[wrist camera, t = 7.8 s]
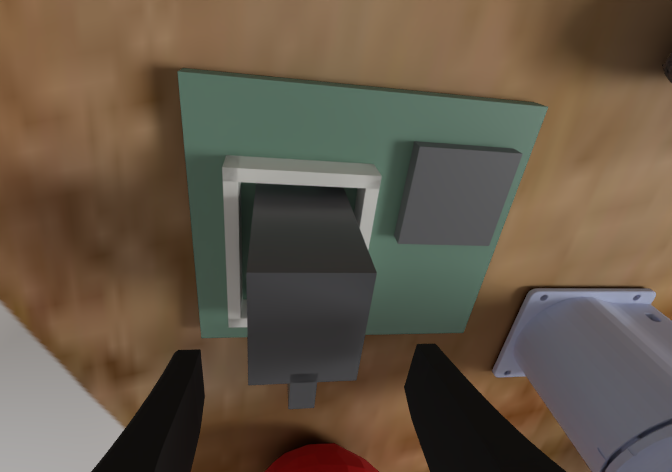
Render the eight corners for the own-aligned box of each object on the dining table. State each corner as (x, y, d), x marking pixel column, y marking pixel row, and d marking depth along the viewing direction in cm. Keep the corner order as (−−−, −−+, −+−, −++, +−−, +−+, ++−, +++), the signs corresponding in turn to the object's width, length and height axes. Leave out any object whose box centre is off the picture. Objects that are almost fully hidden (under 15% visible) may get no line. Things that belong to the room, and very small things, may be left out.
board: (535, 102, 18) (570, 114, 16) (456, 321, 25) (473, 350, 23) (182, 67, 15) (168, 77, 13) (204, 325, 22) (196, 358, 20)
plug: (343, 185, 18) (377, 273, 12) (329, 294, 21) (351, 405, 15) (256, 181, 17) (246, 272, 11) (256, 294, 20) (248, 411, 14)
